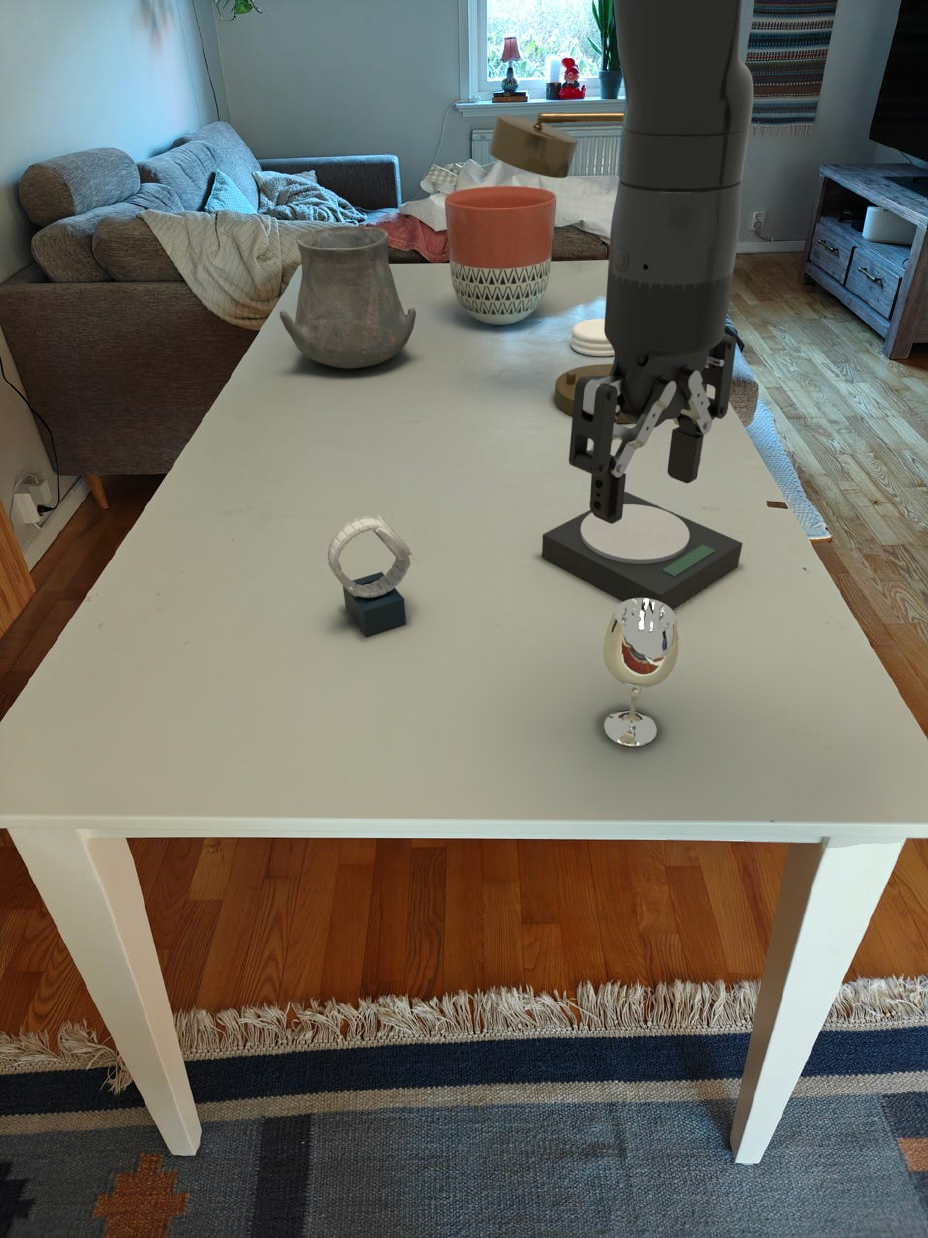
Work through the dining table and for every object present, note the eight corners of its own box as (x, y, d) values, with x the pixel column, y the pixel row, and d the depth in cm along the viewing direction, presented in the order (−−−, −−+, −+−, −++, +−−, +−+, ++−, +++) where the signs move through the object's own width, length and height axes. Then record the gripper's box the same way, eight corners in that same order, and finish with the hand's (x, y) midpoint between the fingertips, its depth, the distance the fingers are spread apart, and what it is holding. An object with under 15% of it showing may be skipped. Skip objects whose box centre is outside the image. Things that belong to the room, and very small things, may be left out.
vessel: (412, 332, 157) (405, 214, 145) (421, 376, 139) (414, 246, 127) (293, 339, 155) (276, 221, 143) (287, 385, 137) (267, 254, 125)
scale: (738, 566, 92) (743, 538, 90) (657, 619, 85) (661, 590, 83) (623, 513, 102) (625, 486, 100) (541, 557, 95) (542, 529, 92)
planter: (428, 319, 163) (422, 196, 150) (506, 299, 172) (507, 181, 159) (492, 345, 150) (492, 213, 137) (573, 322, 159) (579, 196, 147)
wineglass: (590, 745, 71) (601, 631, 64) (602, 700, 76) (613, 589, 68) (660, 758, 70) (679, 643, 63) (668, 712, 74) (686, 599, 67)
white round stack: (614, 361, 143) (616, 340, 140) (561, 351, 147) (562, 331, 145) (637, 343, 149) (639, 323, 147) (586, 334, 154) (587, 314, 152)
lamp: (495, 377, 138) (494, 105, 115) (664, 380, 135) (698, 102, 112) (484, 420, 124) (481, 121, 102) (672, 425, 121) (712, 119, 99)
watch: (423, 618, 86) (417, 523, 79) (349, 642, 83) (336, 546, 76) (400, 590, 90) (393, 498, 83) (329, 612, 87) (315, 519, 80)
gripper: (644, 299, 46) (621, 554, 56) (790, 250, 53) (746, 482, 63) (544, 274, 51) (539, 514, 60) (691, 232, 58) (665, 451, 68)
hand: (645, 497), depth 62 cm, fingers open, 8 cm apart
